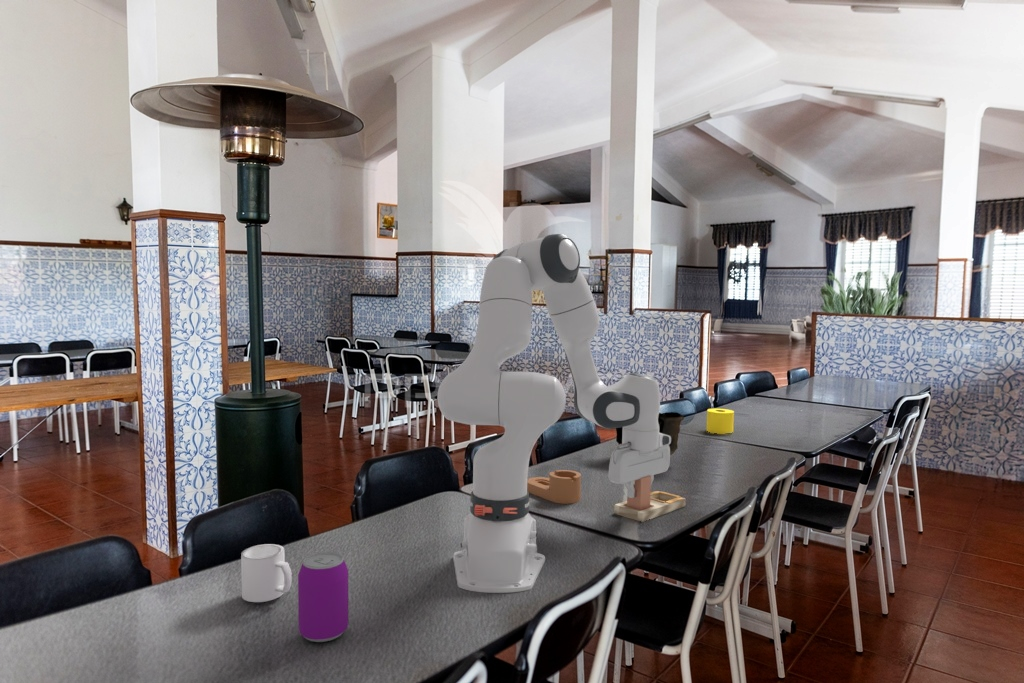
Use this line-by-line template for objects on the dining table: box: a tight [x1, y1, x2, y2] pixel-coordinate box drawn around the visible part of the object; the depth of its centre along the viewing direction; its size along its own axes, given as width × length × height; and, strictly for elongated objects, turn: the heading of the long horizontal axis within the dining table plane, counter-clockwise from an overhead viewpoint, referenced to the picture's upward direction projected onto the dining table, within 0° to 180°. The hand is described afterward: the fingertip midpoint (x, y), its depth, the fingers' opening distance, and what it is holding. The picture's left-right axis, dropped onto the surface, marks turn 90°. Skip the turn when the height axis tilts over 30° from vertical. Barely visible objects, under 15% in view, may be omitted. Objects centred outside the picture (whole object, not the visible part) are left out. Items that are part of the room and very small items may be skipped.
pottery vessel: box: [615, 411, 685, 456], centre depth 217 cm, size 25×11×20 cm, turn 47°
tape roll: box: [706, 408, 735, 435], centre depth 264 cm, size 10×10×9 cm
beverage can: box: [297, 550, 350, 643], centre depth 108 cm, size 8×8×12 cm
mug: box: [240, 543, 293, 603], centre depth 121 cm, size 10×7×8 cm
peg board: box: [613, 490, 686, 523], centre depth 170 cm, size 18×8×3 cm, turn 132°
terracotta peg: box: [626, 476, 652, 511], centre depth 166 cm, size 4×4×10 cm
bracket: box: [527, 469, 582, 505], centre depth 183 cm, size 18×8×7 cm, turn 37°
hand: (638, 495), depth 166 cm, fingers closed on terracotta peg, 4 cm apart
